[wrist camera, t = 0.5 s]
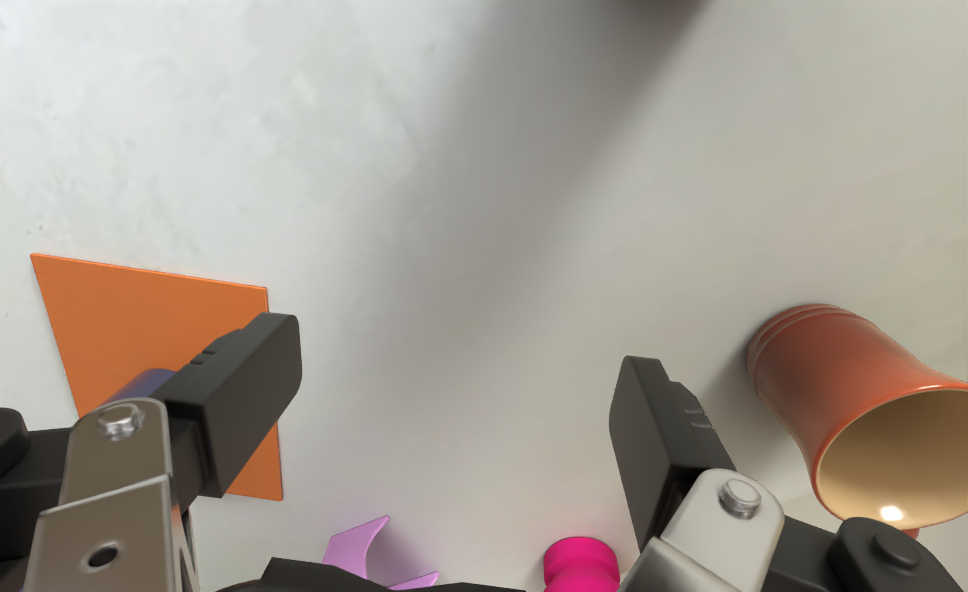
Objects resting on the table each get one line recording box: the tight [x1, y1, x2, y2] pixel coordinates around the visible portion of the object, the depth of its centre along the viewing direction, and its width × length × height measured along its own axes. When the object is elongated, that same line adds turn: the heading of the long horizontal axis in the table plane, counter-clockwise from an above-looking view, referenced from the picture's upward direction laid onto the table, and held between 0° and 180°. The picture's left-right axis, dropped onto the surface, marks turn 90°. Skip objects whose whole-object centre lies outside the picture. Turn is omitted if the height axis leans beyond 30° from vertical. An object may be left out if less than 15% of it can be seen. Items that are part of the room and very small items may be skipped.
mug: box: [746, 304, 968, 540], centre depth 27 cm, size 12×9×10 cm
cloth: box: [30, 253, 283, 501], centre depth 36 cm, size 20×16×1 cm
